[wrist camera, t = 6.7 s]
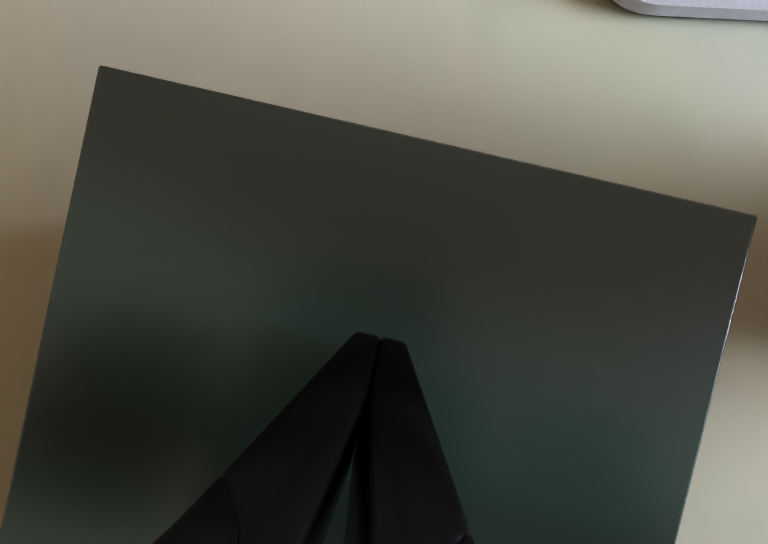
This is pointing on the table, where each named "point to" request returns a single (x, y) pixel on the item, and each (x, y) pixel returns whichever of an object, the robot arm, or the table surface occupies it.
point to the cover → (365, 319)
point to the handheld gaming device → (700, 8)
